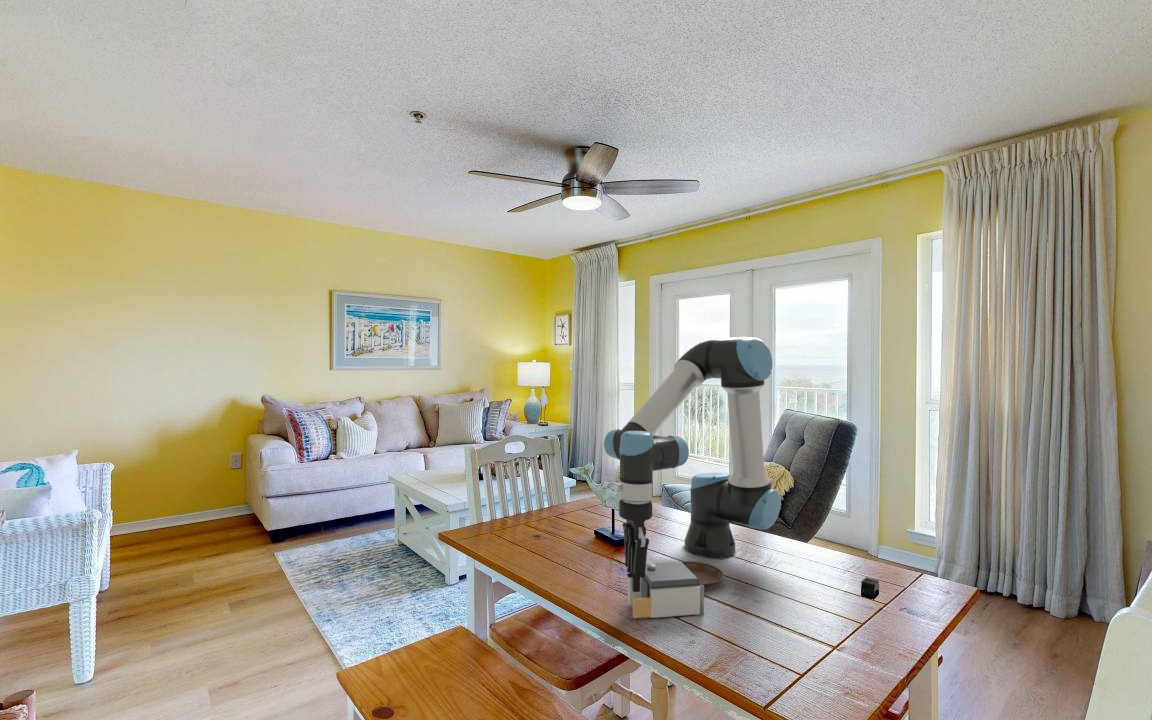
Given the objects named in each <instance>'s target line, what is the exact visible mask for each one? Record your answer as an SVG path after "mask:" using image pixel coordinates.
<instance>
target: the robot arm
mask: <svg viewBox="0 0 1152 720" xmlns="http://www.w3.org/2000/svg"><path fill="white" fill-rule="evenodd" d="M772 369H773V357H772V354H771V351H770V348H769V347H768V345H767V344H766V343H765V342H764V340H762V339H761V338H758V337H749V336H740V337H723V338H718V337H715V338H714V337H713V338H708V339H705V340H703V341H700V342H698V344H696V345H694V346H693V347H691V348H690V349H689V350H687V351H686V352H684V354H683V355H682V356H681V357H680V358H678V360H677V361H676V362H675V363H674V365H673V371H672V372H671V373H670V374H669V375H668V376H667V377H666V379H665V380H664V381H663V382H662V383H661V385H660V386H659V387H658V388H656V390H655V391H654V392H653V393H652V395H651V396H650V397H649V398H648V399H647V400H646V401H645V403H644V404H643V405H642V406H641V407H640V408H639V409H638V411H637V412H635V414H634V415H633V416H632V417H631V418H630V420H628V422H627V423H626V424H625V425H624V426H623V427H622V428H621V429H619V428H618V429H611V430H609V431H608V432H607V433H606V435H605V437H604V441H603V447H604V451H605V453H606V455H608V456H609V457H611V458H613V459H617V460H619V485H617V486H616V487H617V490H619V498H620V500H619V502H618V515H619V517H620V518H621V519H622V520H623V519H624V520H626V521H625V522H622V527H623V528H622V529H623V540H624V541H623V543H624V562H625V563H624V565H625V567H626V571H627V574H626V575H627V604H628V605H629V606H633V598H641V577H645V568H646V564H647V559H648V558H647V557H648V547H649V543H650V539H649V538H647V537H646V536H647V535H646V534H647V527H646V526H645V522H646V521H648V520H651V518H652V517H653V502H652V500H653V498H654V496H653V495H654V493H653V490H654V478H653V477H654V475H653V473H654V471H656V472H657V471H661V470H667V469H676V468H678V467H681V466H684V465H685V464H686V463H687V461H688V459H689V456H690V455H689V454H690V451H689V450H690V449H689V446H688V444H687V442H686V441H685V439H684V438H682V437H681V436H677V435H667V436H660V435H656V434H657V433H658V431H660V429H661V428H662V427H663V426H664V425H665V423H666V422H667V421H668V420H669V419H670V417H671V416H673V413H675V411H677V409H678V408H679V407H680V405H681V404H682V403H683V401H684V400H685V399H686V398H687V397H688V396H689V394H691V392H692V391H693V390H694V388H698V387H700V386H701V385H702V384H703V383H704V382H705V381H707V380H710V379H720V386H721V388H722V389H723V390H724V391H725V392H726V393H727V394H726V395H727V407H728V419H729V421H728V422H729V433H730V449H731V460H732V461H731V463H732V474H731V475H730V473H726V472H705V473H697V474H695V475H693V476H692V478H691V481H690V482H691V484H690V523H689V525H688V529H687V532H686V534H685V538H684V549H685V550H686V551H687V552H688V553H691V554H693V555H695V556H699V557H703V558H709V557H710V558H711V559H723V558H722V557H724V558H729V557H732V556H734V555H735V554H736V542H735V538H734V536H733V535H734V534H733V533H732V529H731V525H730V523H735V524H738V525H742V526H745V527H749V528H750V529H757V530H768V529H769V528H771V527H772V526H773V525H774V524H775V522H776V521H777V519H778V516H779V514H780V511H781V508H782V507H781V506H782V498H781V494H780V492H779V491H778V490H777V489H775V488H772V479H771V477H770V476H768V475H767V474H766V473H765V462H764V461H765V460H764V459H765V458H764V444H763V442H764V441H763V429H762V428H763V427H762V414H761V413H762V412H761V398H760V390H761V389H762V388H763V387H764V386H765V380H768V379H769V377H770V376H771V374H772ZM734 553H735V554H734ZM733 554H734V555H733ZM731 555H732V556H731ZM728 556H729V557H728Z"/></svg>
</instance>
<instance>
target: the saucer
mask: <svg viewBox="0 0 1152 720" xmlns="http://www.w3.org/2000/svg"><path fill="white" fill-rule="evenodd" d="M681 562H682V563H683V564H684V565H685V566H686V567H687V568H688V569H689V570H690V571H691V572H692V573H693V574H695V575H696V576H697V577H698V580H699V583H700V585H704V591H705V590H709V589H710V590H711V589H712V588H713V587H715V586H717V585H718V584H719V583H720V582H721V581H722V579H723V578H724V572H723V571H722V569H720V568H718V567H716V566H714V565H712V564H708V563H705V562H699V561H690V560H689V561H688V560H687V561H685V560H684V561H681Z"/></svg>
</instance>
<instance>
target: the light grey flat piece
mask: <svg viewBox="0 0 1152 720" xmlns="http://www.w3.org/2000/svg"><path fill="white" fill-rule="evenodd" d="M704 603H705V590H704V585H699V586H689V587H674V588H660V589H650V597H647V598H633V605H632V618H633V619H641V618H642V619H643V618H666V617H677V616H678V617H679V616H690V615H692V616H693V615H698V616H700V617H702V616H704V615H705V613H704V612H705V609H704V608H705V604H704Z"/></svg>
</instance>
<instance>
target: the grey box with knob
mask: <svg viewBox="0 0 1152 720" xmlns="http://www.w3.org/2000/svg"><path fill="white" fill-rule="evenodd" d="M682 562H683V561H670V562H669V561H668V562H656V563H655V562H654V563H651V562H650V563H646V568H645V577H641V598H647V597H650V589H660V588H674V587H689V586H699V585H700V583H699V580H698V577H697V576H696V575H695V574H693V573H692V572H691V571H690V570H689V569H688V568H687V567H686V566H685V565H684V564H683V563H682Z"/></svg>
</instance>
